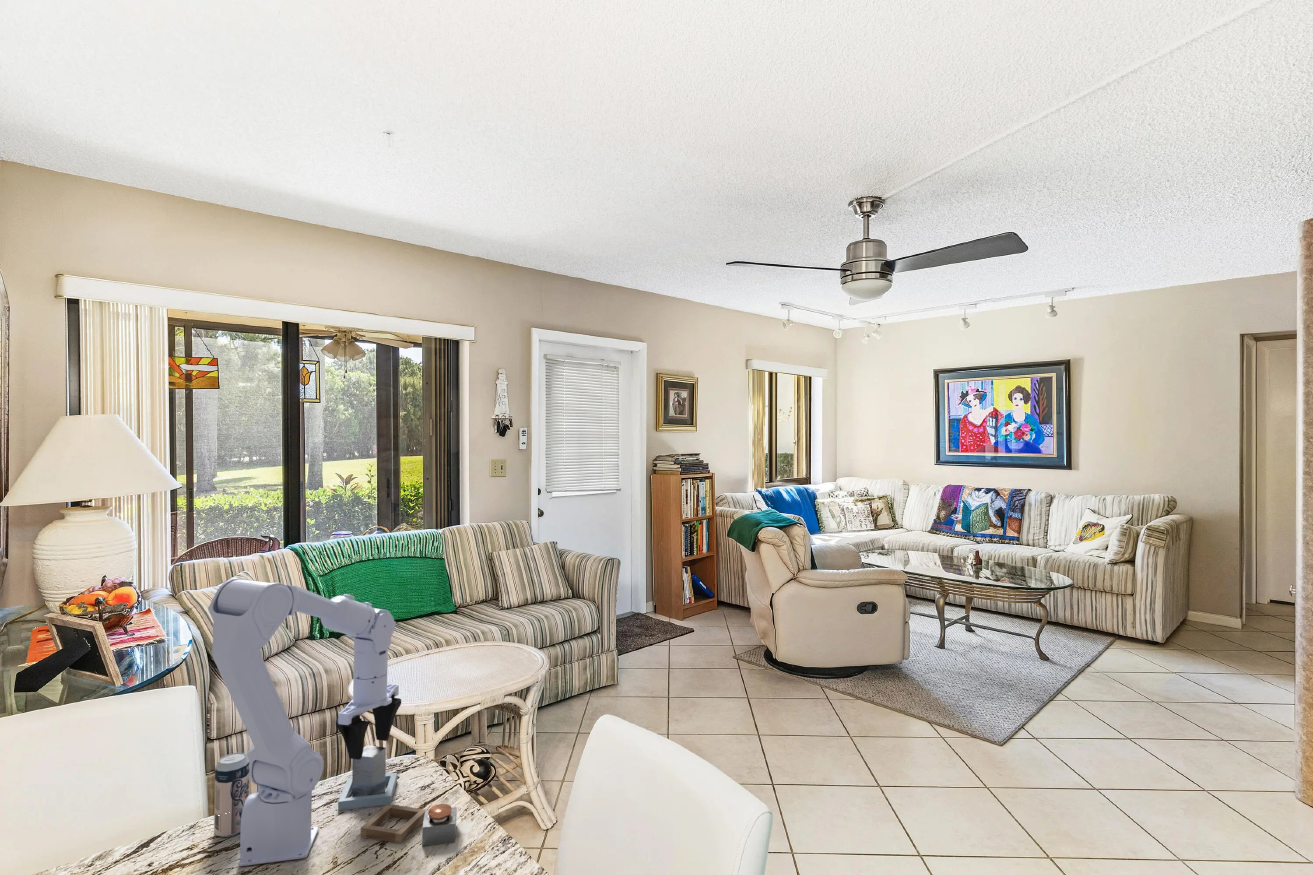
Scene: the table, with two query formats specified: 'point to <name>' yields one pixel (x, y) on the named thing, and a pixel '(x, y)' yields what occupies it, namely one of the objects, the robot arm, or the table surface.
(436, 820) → the plunger
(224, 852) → the table surface
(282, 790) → the robot arm
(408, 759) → the table surface
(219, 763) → the beer can
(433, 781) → the table surface
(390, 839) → the walnut socket
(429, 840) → the frame
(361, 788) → the grey metal block
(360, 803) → the light blue square frame
